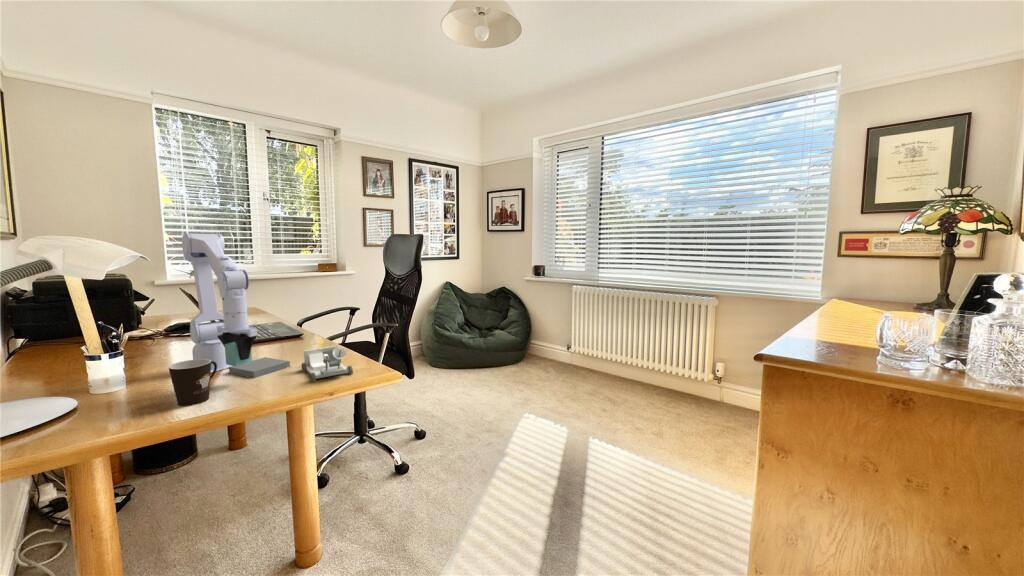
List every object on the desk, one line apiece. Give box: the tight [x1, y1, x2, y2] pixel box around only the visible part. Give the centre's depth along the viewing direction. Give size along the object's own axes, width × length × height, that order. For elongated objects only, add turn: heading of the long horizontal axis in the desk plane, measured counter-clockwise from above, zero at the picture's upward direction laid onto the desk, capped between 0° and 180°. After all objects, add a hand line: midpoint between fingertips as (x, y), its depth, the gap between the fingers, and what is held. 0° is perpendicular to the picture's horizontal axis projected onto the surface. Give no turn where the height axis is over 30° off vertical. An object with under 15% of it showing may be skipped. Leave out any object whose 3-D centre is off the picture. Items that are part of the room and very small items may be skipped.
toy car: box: [301, 345, 354, 383], centre depth 125 cm, size 18×10×12 cm
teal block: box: [225, 342, 253, 366], centre depth 115 cm, size 4×4×6 cm
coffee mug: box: [168, 359, 217, 407], centre depth 104 cm, size 12×9×10 cm
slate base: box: [228, 357, 291, 379], centre depth 128 cm, size 12×12×2 cm
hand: (238, 358), depth 115 cm, fingers closed on teal block, 4 cm apart
